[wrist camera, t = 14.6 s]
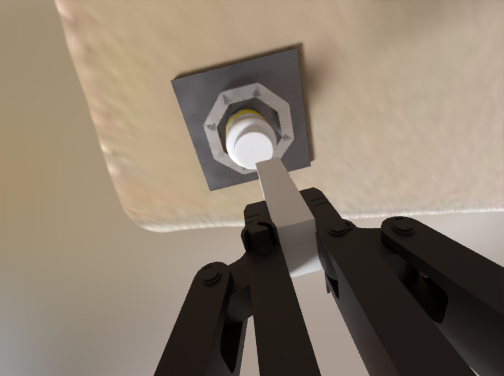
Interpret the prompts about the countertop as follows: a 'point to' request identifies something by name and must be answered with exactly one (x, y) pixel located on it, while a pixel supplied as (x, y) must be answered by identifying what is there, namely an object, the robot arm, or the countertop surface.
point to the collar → (241, 97)
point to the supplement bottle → (249, 138)
